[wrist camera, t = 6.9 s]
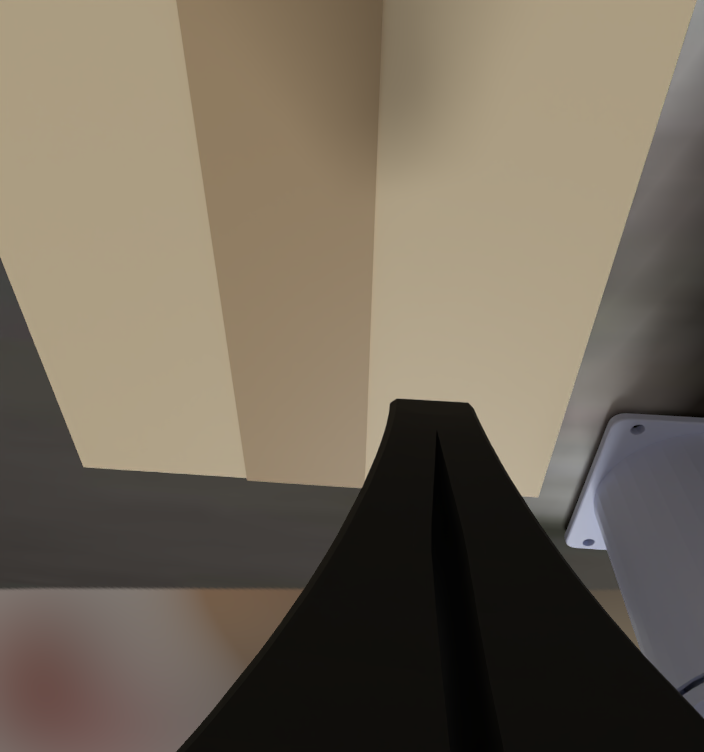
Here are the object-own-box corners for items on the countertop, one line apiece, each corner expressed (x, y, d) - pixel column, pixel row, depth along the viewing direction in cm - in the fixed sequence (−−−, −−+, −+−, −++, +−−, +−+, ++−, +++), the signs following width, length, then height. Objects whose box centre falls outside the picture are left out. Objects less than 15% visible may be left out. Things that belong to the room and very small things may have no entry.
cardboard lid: (748, -222, 8) (774, -235, 8) (534, 482, 17) (538, 499, 17) (-161, -220, 9) (-199, -232, 8) (92, 453, 18) (82, 469, 17)
